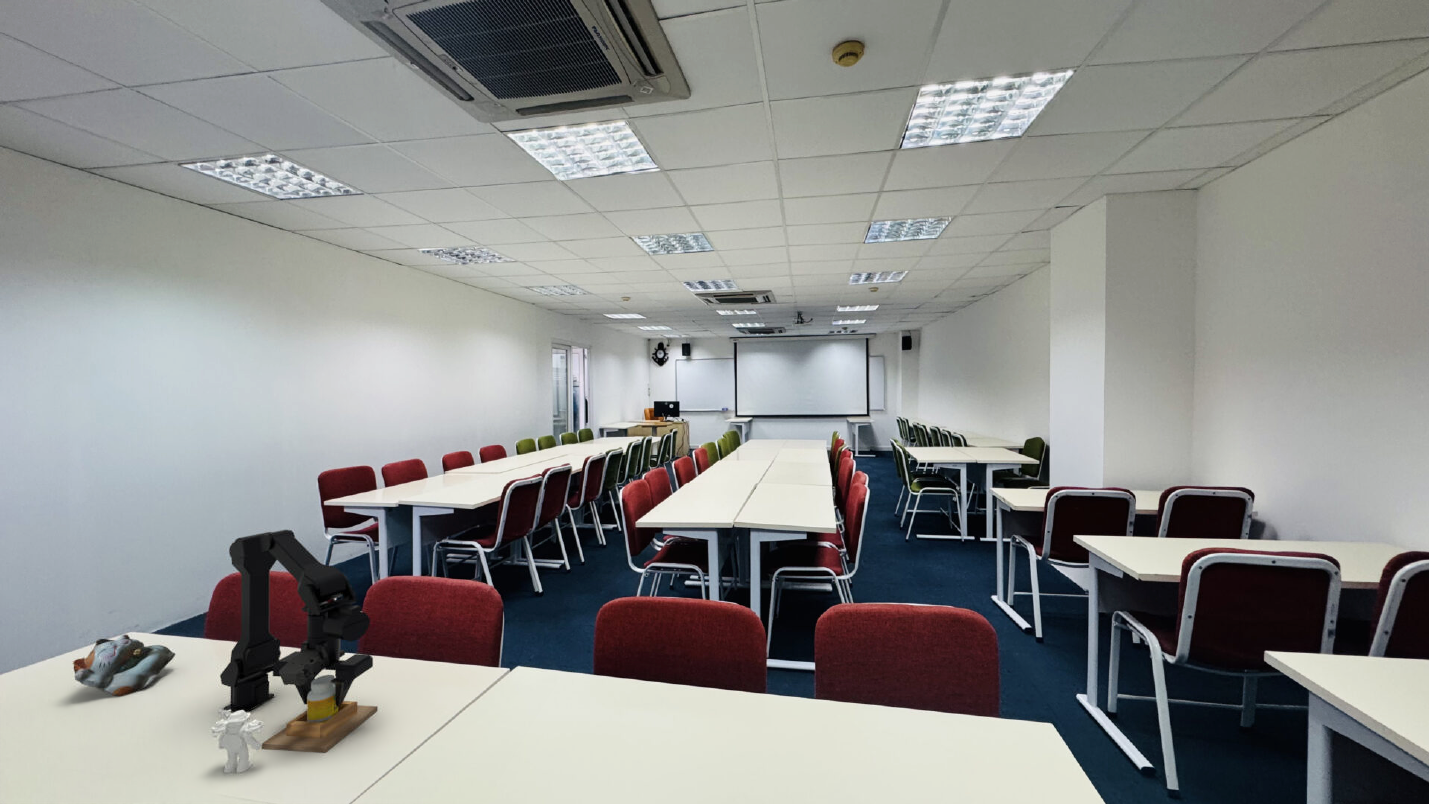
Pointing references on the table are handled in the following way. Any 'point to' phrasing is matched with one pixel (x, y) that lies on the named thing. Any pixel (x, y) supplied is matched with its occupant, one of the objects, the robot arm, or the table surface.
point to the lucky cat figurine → (121, 665)
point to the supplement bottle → (321, 700)
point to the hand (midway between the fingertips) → (323, 704)
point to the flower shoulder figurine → (237, 738)
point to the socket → (320, 729)
